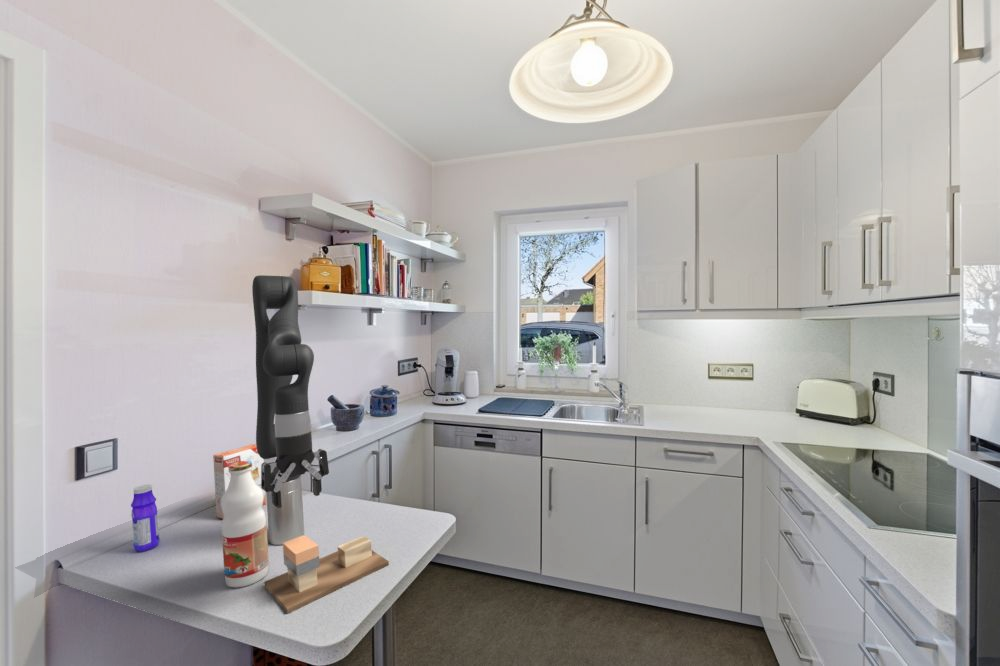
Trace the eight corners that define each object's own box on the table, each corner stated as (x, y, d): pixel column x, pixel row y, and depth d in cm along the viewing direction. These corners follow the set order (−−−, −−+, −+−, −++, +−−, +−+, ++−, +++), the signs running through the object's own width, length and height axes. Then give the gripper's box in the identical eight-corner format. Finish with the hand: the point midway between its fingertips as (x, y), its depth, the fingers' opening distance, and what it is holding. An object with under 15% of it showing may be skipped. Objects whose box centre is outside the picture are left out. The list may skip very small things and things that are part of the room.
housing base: (284, 563, 103) (283, 553, 103) (305, 555, 106) (305, 545, 106) (297, 576, 97) (296, 565, 97) (319, 566, 101) (318, 556, 101)
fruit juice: (275, 574, 108) (268, 461, 107) (233, 593, 100) (225, 472, 100) (260, 562, 114) (253, 455, 113) (219, 579, 107) (211, 465, 106)
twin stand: (264, 586, 103) (263, 565, 103) (359, 545, 120) (358, 527, 120) (287, 613, 92) (286, 590, 92) (388, 565, 109) (387, 545, 109)
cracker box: (227, 521, 141) (222, 456, 140) (215, 518, 143) (211, 454, 143) (267, 503, 153) (263, 444, 153) (256, 501, 156) (252, 443, 155)
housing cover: (283, 553, 103) (282, 542, 103) (305, 545, 106) (304, 534, 106) (296, 565, 97) (295, 554, 97) (318, 556, 101) (318, 545, 100)
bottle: (132, 547, 126) (127, 487, 126) (156, 539, 130) (152, 481, 130) (136, 555, 121) (131, 493, 121) (161, 546, 125) (157, 486, 125)
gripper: (317, 423, 109) (321, 487, 109) (254, 435, 99) (259, 507, 99) (330, 427, 103) (334, 495, 104) (265, 440, 93) (270, 516, 94)
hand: (297, 500), depth 101 cm, fingers open, 8 cm apart
